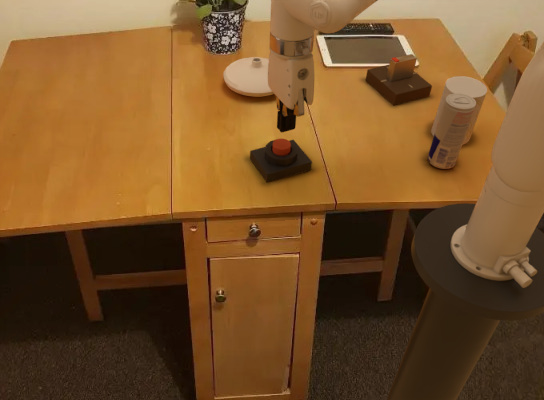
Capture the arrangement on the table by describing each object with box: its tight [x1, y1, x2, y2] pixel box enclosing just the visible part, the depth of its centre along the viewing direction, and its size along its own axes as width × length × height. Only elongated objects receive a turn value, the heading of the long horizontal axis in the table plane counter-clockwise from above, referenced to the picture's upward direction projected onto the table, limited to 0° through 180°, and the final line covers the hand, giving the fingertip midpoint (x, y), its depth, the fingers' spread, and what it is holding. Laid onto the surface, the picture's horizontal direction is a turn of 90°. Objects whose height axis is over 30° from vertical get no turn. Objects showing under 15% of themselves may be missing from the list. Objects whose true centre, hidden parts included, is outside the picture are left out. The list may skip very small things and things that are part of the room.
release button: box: [272, 138, 291, 156], centre depth 116 cm, size 4×4×2 cm
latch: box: [386, 53, 418, 82], centre depth 136 cm, size 6×2×5 cm, turn 112°
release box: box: [249, 138, 313, 183], centre depth 118 cm, size 10×8×4 cm
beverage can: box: [427, 93, 476, 170], centre depth 115 cm, size 6×6×15 cm
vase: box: [223, 56, 275, 97], centre depth 138 cm, size 16×16×7 cm
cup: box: [430, 75, 488, 146], centre depth 123 cm, size 8×8×12 cm
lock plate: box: [365, 64, 433, 106], centre depth 139 cm, size 12×10×3 cm
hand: (286, 128), depth 112 cm, fingers closed
